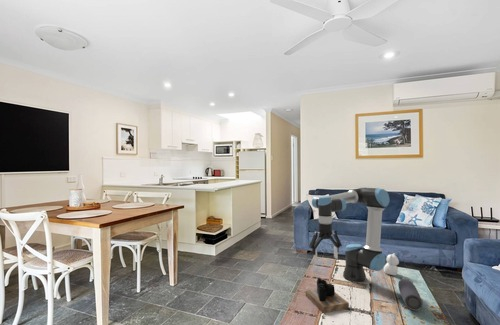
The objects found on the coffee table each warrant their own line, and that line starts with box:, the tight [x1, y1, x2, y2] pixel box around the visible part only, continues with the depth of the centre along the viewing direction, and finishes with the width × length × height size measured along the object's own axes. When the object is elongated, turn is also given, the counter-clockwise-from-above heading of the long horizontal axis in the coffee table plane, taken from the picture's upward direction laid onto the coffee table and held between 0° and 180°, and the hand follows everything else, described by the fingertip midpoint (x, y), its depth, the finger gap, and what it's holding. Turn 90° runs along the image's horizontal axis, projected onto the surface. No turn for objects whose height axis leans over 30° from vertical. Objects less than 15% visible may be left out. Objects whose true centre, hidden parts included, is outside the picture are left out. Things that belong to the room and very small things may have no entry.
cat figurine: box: [381, 252, 400, 276], centre depth 189 cm, size 9×12×15 cm
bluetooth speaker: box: [397, 277, 423, 311], centre depth 147 cm, size 23×9×10 cm, turn 157°
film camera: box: [316, 277, 336, 301], centre depth 149 cm, size 15×10×9 cm, turn 171°
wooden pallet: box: [305, 288, 350, 314], centre depth 148 cm, size 16×20×3 cm
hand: (325, 259), depth 149 cm, fingers open, 13 cm apart
